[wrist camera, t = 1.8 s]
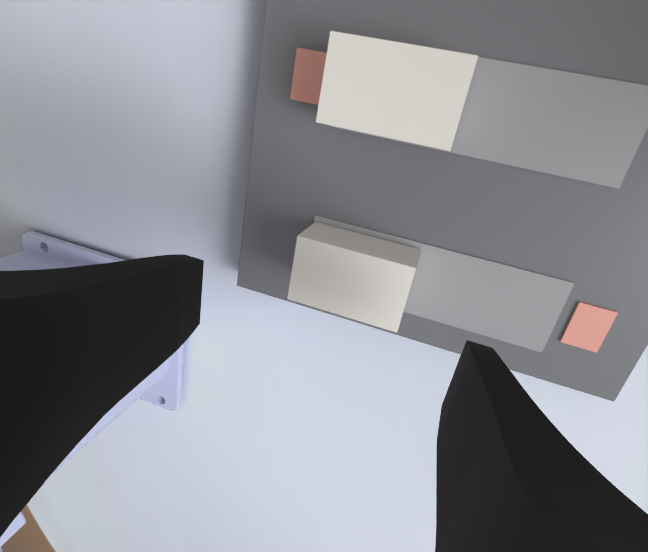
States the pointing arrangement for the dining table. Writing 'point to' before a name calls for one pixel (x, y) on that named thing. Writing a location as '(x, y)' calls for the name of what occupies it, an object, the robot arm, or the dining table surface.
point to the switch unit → (476, 178)
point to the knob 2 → (352, 275)
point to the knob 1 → (394, 89)
